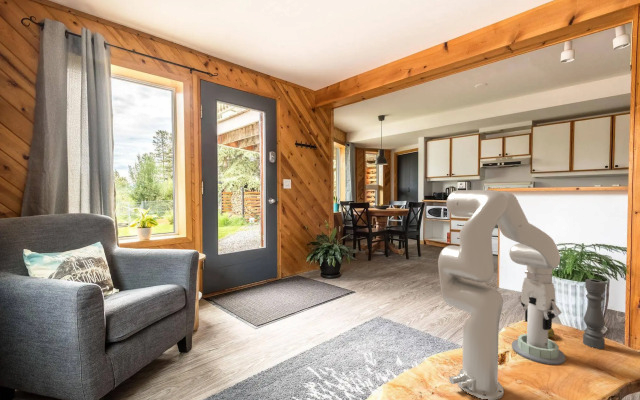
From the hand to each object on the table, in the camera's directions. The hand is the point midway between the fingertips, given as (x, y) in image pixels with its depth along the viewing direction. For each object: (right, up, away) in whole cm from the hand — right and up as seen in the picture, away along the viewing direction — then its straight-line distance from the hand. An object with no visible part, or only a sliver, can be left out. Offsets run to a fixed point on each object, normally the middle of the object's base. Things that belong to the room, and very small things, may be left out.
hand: (537, 324), depth 112 cm
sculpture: (+12, -10, +14) cm, 21 cm away
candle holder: (+26, -10, +6) cm, 28 cm away
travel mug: (0, -9, 0) cm, 9 cm away
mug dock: (0, -10, 0) cm, 10 cm away
